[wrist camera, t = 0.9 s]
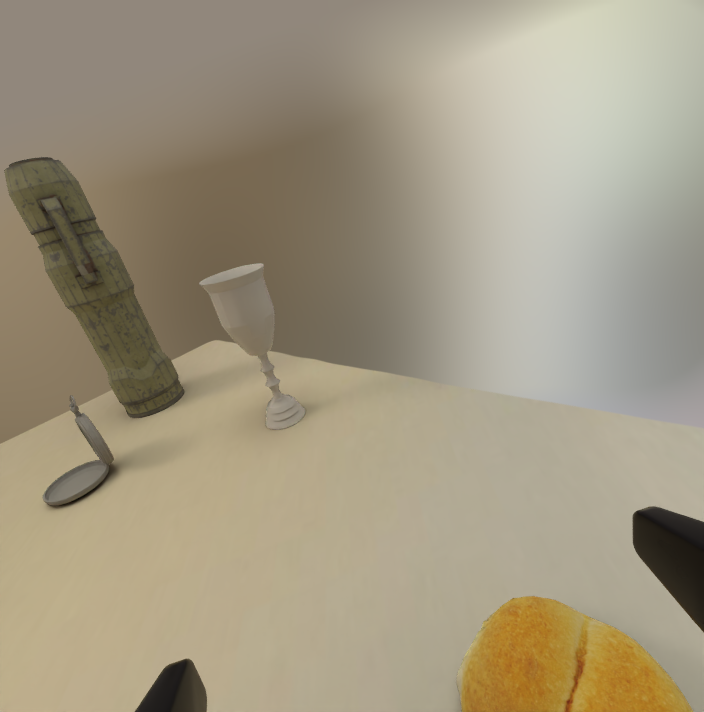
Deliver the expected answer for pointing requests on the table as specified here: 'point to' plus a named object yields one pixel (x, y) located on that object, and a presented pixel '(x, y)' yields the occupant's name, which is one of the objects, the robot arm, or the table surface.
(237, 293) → the chalice
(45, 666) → the table surface
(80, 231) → the thermos
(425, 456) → the table surface
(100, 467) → the pocket watch
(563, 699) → the bread roll
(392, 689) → the table surface
